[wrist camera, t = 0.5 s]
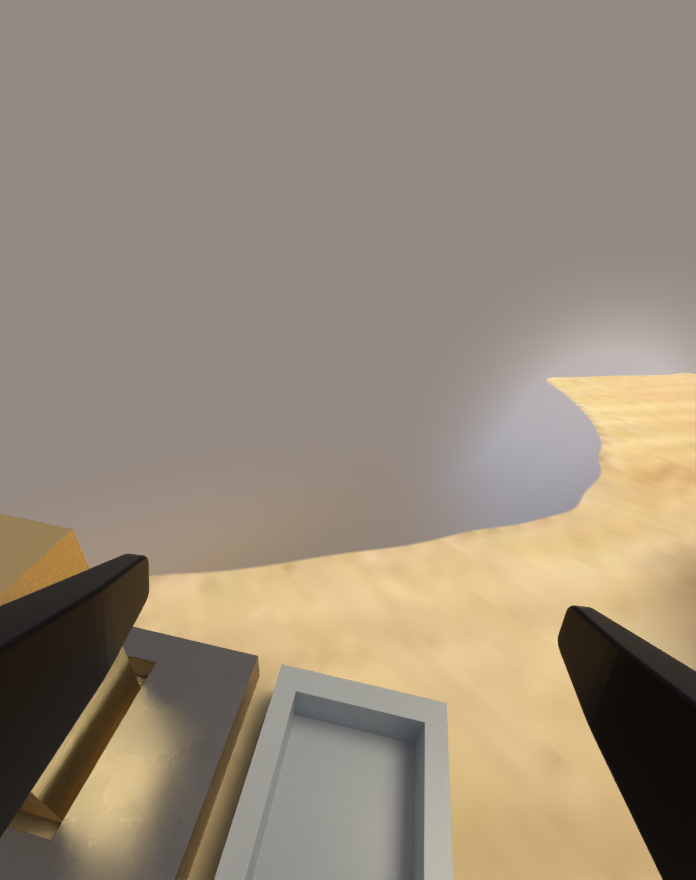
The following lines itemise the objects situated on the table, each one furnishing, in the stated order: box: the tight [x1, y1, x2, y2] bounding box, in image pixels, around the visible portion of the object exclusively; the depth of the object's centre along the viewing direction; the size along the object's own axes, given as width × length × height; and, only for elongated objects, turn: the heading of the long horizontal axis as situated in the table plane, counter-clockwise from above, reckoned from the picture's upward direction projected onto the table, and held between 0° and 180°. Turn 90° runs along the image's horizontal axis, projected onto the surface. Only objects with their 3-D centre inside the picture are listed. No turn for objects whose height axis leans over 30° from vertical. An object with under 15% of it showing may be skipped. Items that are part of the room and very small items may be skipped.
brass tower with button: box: [0, 514, 141, 823], centre depth 15 cm, size 5×5×12 cm
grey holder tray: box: [0, 627, 259, 880], centre depth 17 cm, size 12×9×2 cm
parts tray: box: [214, 664, 453, 880], centre depth 16 cm, size 8×8×3 cm
